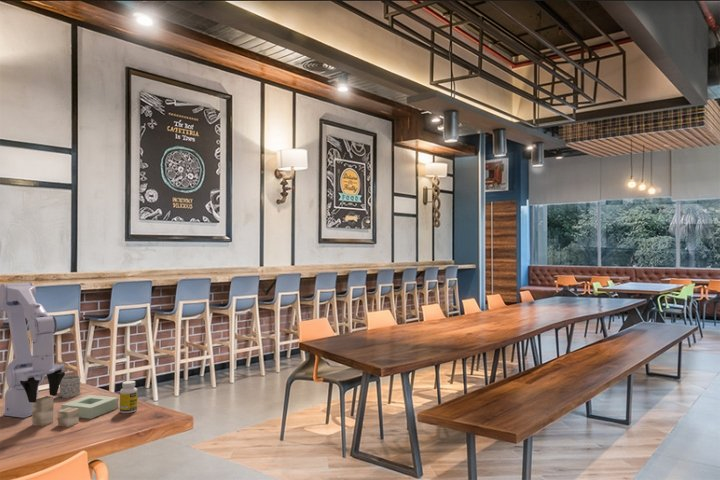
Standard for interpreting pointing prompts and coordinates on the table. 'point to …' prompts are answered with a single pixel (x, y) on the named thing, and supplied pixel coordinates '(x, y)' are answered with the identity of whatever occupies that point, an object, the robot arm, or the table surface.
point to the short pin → (68, 417)
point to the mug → (69, 386)
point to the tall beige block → (42, 411)
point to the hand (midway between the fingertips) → (43, 398)
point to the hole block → (93, 405)
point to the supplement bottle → (128, 397)
